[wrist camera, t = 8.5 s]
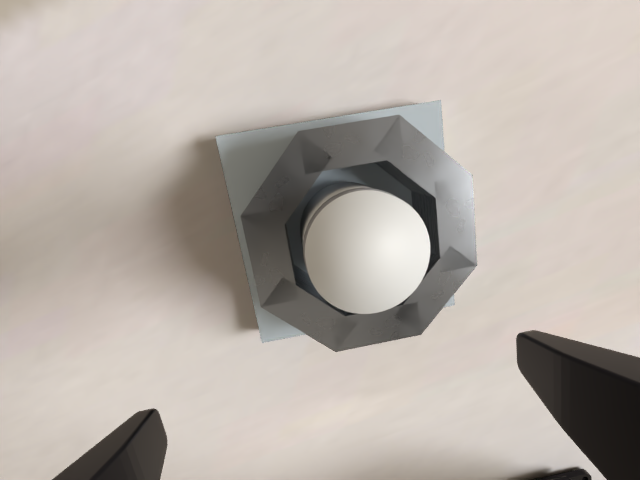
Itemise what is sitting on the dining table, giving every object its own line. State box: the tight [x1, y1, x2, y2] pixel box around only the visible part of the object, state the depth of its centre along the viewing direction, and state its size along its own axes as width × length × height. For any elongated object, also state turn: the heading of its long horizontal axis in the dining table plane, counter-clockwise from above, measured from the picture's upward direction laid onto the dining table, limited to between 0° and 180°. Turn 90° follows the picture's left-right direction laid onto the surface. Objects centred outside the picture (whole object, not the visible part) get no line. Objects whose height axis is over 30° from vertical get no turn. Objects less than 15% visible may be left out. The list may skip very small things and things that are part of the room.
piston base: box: [215, 100, 455, 343], centre depth 16 cm, size 11×11×6 cm
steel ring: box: [241, 115, 477, 352], centre depth 17 cm, size 10×10×3 cm
